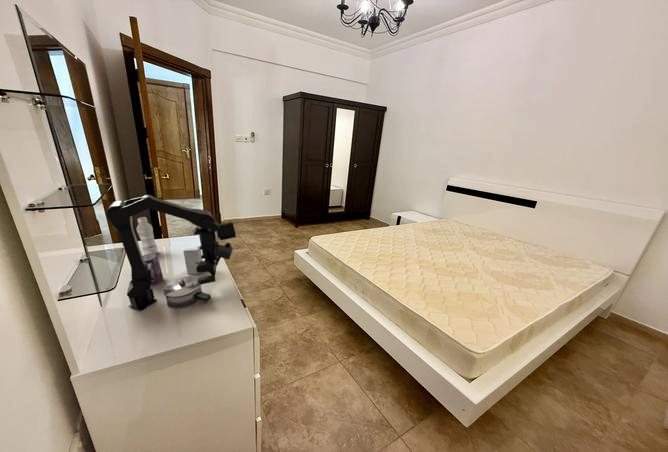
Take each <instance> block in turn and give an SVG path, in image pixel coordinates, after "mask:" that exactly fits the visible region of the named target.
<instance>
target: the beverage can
mask: <svg viewBox="0 0 668 452" xmlns="http://www.w3.org/2000/svg"><path fill="white" fill-rule="evenodd" d="M142 256H143V259H144V261H145V262H146V264H150V263H152V269H153V270H154V280H152V285H151V286H154V285H156V284H158V283H161V282H162V281H163V279H164V275H163V271H162V268H161V264H160V259H159V258H158V256H157V254H146V255H144V254H142Z"/></svg>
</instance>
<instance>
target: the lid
mask: <svg viewBox="0 0 668 452" xmlns="http://www.w3.org/2000/svg"><path fill="white" fill-rule="evenodd" d="M214 282H216V275H211V274H210V275H206V276H200V277H197V276H193V275H187V276H182V277H178V278H176V279H175V278H174V279H173V280H171V281H169V282H168V283H165V284H166V285H164V287H163V289H162V290H163V291H162V292H163V294H164V296H165V297H166V296H167V297H171V298H178V297H183V296H187V295H189V294H192V293H193V292H195V291H197V290H198V289H199V288H200V286H201V287H202V285H204V284H205V285H206V284H211V283H214Z"/></svg>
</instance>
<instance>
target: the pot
mask: <svg viewBox="0 0 668 452" xmlns="http://www.w3.org/2000/svg"><path fill="white" fill-rule="evenodd" d="M165 298H166V305H167V307H168V308H169V309H171V310H184V309H188V308H191V307H193V306H195V305H196V304H198V303H199V302H203V303H208V302H209V301H210V300H212V295H211V294H209V293H205V292H203V289H202V285H201V286H200V288H199V289H198V290H197V291H195V292H193V293H192V294H189V295H187V296H183V297H178V298H171V297H167V296H165Z"/></svg>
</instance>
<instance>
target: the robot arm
mask: <svg viewBox="0 0 668 452" xmlns="http://www.w3.org/2000/svg"><path fill="white" fill-rule="evenodd" d="M147 210H152V211H155V212H159V213H161V214H165V215H168V216H169V215H170V216H172V217H176V218H179V219H183V220H184V221H187V222H189V223H191V224H192V225H194V226H195V228H193V230H192V233H193V235H194V236H196V235H197V236H198V237H199V242H200V245H199V246H200V247H199V248H200V250H201V254H202V256H201V259H202V261H200V262H199V264H198V265H197V267H196V271H197V273H199V274H201V273H209V274H210V275H215V276H216V274H217V266H218V265H219V263H220V262H219V261H220V260H221V259H225V260H230V259H231V256H232V253H233V250H234V247H232V244H231V242H226V243H225V244H220V243H219V241H217V239H219V240H220V241H224V240H230V239H235V238H237V234H236V230H235V229H236V228H235V225H234V223H233V222H232V221H228V222H223V223H218V221H217V220H215V219H214V217H213V215H212V214H211V212H210V211H209V210H206V209H200V208H189V207H185V206H182V205H179V204H177V203H173V202H170V201H167V200H164V199H160V198H158V197H155V196H153V195H151V194H145V195H143V196H140V197H135V198H131V199H128V200H125V201H123V200H116V201H113V202H111V204H110V205H109V207H108V208H107V210H106V212H105V214H106V218H107V220H108V221H109V223H110V224H111V226H112V227H113V228H114V229H115V230H116V231H117V232H118V234H119V238H120V241H121V244H122V246H123V249H124V251H125V254H126V257H127V259H128V263H129V265H130V268H131V269H130V270H131V280H130V281H129V284H128V288H127V292H126V296H127V297H128V300H129V302H130V304H129V305H128V307H129V308H130V309H133V310H136V311H139V312H142V311H143V310H145V309H147V308H148V307H150V306H152V305H153V304H154V303H156V302H157V301H158V300H157V298H155V294H154V291H153V289H152V288H151V287H152V286H153V285H152V280H154V270H153V269H152V263H150V264H146V262H145V261H144V259H143V252H142V249H141V247H140V245H139V242H138V239H137V235H136V233H135V229H134V225H133V217H134V216H135V215H138V214H140V213H142V212H144V211H147ZM203 259H204V260H203Z"/></svg>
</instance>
